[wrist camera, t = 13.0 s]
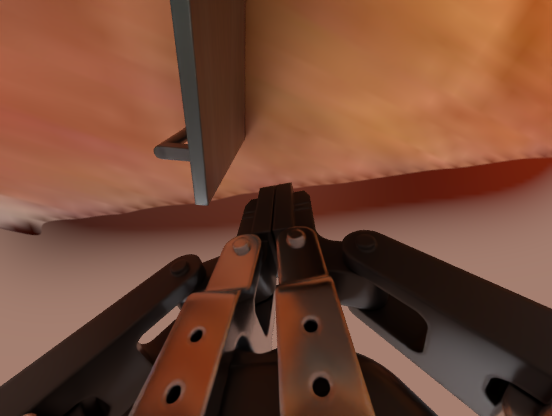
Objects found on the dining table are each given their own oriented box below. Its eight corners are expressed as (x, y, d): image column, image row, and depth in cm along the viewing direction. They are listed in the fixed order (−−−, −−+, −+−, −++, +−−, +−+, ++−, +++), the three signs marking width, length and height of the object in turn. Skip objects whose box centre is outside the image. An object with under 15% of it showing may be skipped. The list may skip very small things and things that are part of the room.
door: (201, 135, 33) (127, 199, 18) (185, -35, 23) (5, -204, 8) (244, 139, 33) (208, 206, 18) (245, -29, 24) (172, -188, 9)
